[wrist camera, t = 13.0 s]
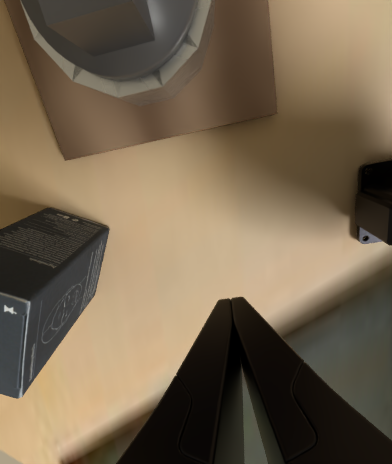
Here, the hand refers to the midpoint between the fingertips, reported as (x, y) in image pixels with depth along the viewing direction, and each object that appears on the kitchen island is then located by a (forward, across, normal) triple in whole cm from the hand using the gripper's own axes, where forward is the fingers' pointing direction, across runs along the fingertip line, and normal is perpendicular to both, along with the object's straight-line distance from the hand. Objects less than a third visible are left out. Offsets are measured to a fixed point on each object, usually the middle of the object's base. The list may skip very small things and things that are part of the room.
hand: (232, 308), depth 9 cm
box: (+13, +14, +2) cm, 19 cm away
